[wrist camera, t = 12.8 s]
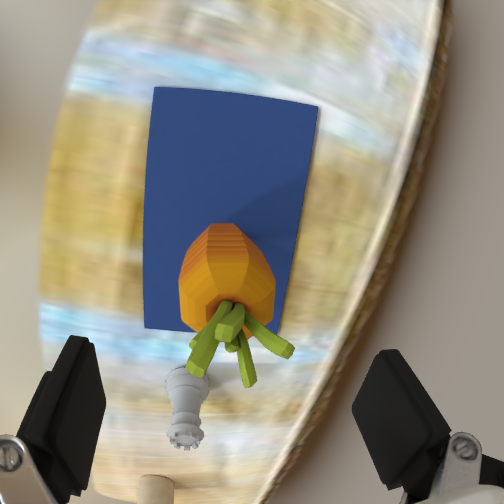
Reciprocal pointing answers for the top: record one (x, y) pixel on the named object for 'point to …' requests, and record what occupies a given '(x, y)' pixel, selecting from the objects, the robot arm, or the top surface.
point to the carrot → (228, 299)
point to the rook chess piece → (185, 407)
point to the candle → (155, 490)
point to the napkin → (221, 185)
